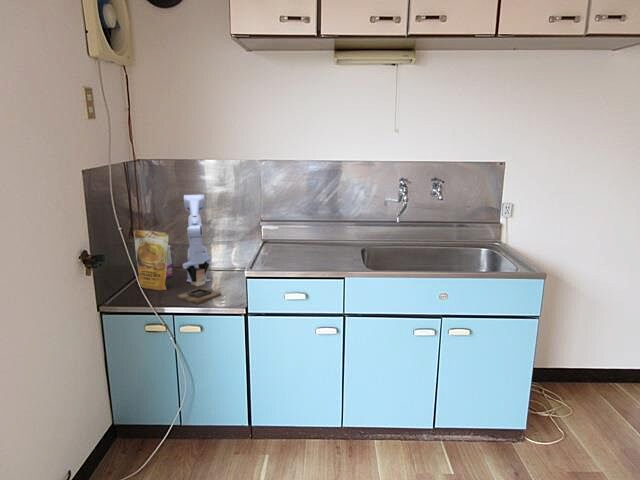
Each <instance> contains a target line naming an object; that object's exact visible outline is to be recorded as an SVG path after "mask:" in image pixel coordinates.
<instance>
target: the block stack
mask: <svg viewBox="0 0 640 480" xmlns="http://www.w3.org/2000/svg"><path fill="white" fill-rule="evenodd" d="M190 285H192V286H195V287H199V286H200V287H201V286H203V285H206V282H205V270H204V269H202V268H197V271H196V282H193V281H192V280H191V282H190Z"/></svg>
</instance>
